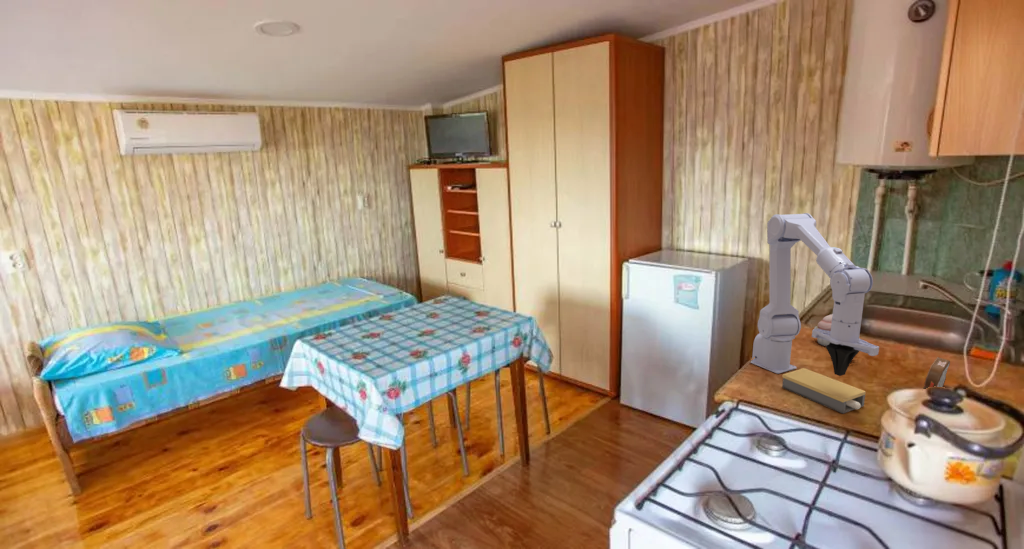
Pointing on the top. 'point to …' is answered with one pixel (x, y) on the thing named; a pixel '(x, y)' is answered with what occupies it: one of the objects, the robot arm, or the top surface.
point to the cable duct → (824, 398)
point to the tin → (937, 373)
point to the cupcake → (824, 328)
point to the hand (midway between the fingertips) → (839, 374)
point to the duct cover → (824, 385)
